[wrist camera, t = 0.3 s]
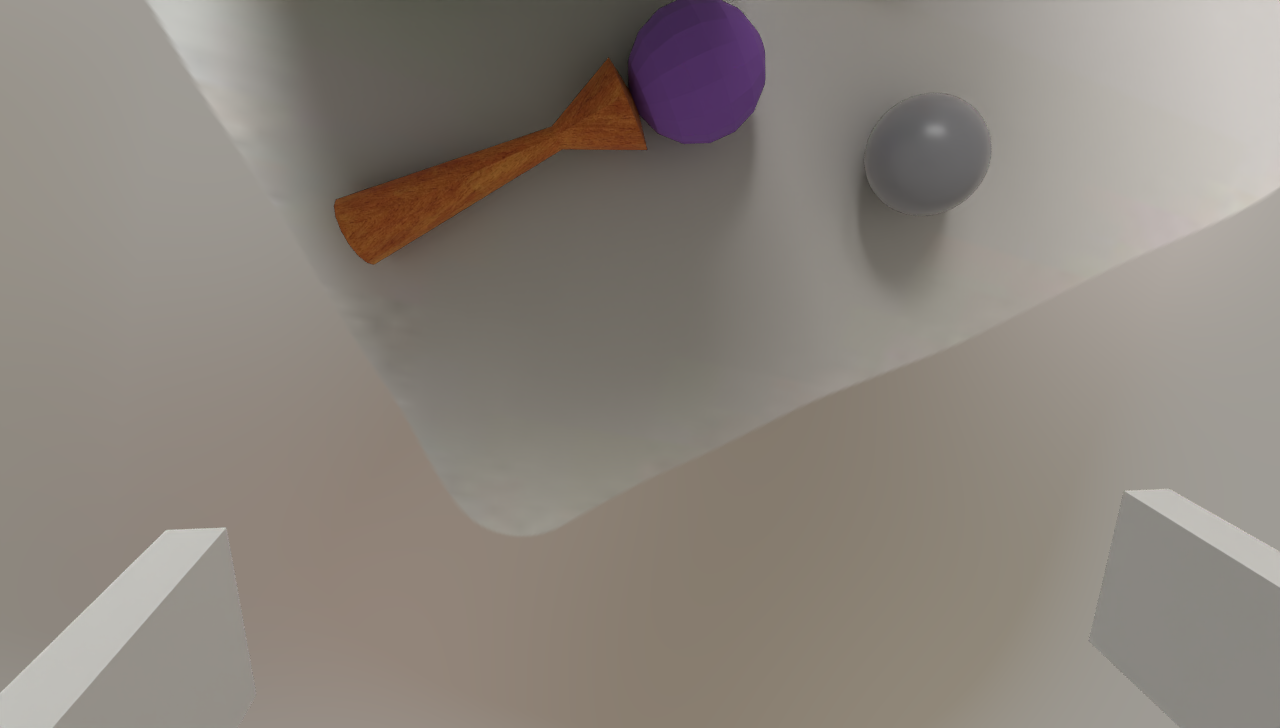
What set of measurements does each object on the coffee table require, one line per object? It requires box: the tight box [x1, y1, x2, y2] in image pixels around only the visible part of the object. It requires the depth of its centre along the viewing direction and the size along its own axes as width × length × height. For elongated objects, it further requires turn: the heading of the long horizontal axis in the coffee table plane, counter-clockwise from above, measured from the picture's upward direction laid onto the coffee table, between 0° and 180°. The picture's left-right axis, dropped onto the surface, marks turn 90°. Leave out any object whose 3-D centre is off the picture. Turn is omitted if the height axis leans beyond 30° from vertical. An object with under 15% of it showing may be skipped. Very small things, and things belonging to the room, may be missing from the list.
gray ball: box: [864, 93, 991, 216], centre depth 33 cm, size 6×6×6 cm
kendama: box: [334, 0, 765, 265], centre depth 32 cm, size 6×6×20 cm
